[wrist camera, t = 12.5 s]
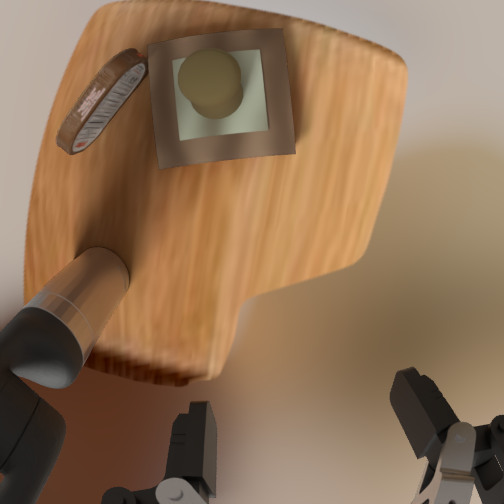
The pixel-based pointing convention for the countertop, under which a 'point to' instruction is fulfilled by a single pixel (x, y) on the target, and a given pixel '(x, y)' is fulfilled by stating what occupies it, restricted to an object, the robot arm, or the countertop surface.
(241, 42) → the stand
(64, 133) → the tin
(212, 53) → the olive pepper mill
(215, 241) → the countertop surface
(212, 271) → the countertop surface
